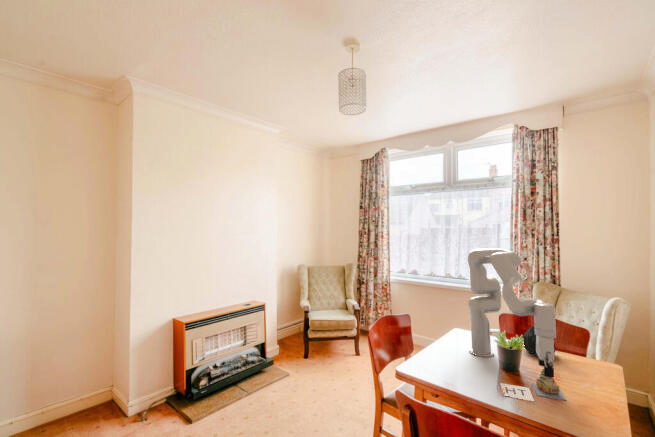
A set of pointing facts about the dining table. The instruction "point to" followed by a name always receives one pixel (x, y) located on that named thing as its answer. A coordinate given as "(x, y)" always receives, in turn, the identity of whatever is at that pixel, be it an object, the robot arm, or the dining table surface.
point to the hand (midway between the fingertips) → (546, 371)
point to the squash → (531, 341)
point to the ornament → (547, 384)
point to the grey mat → (543, 394)
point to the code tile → (517, 392)
